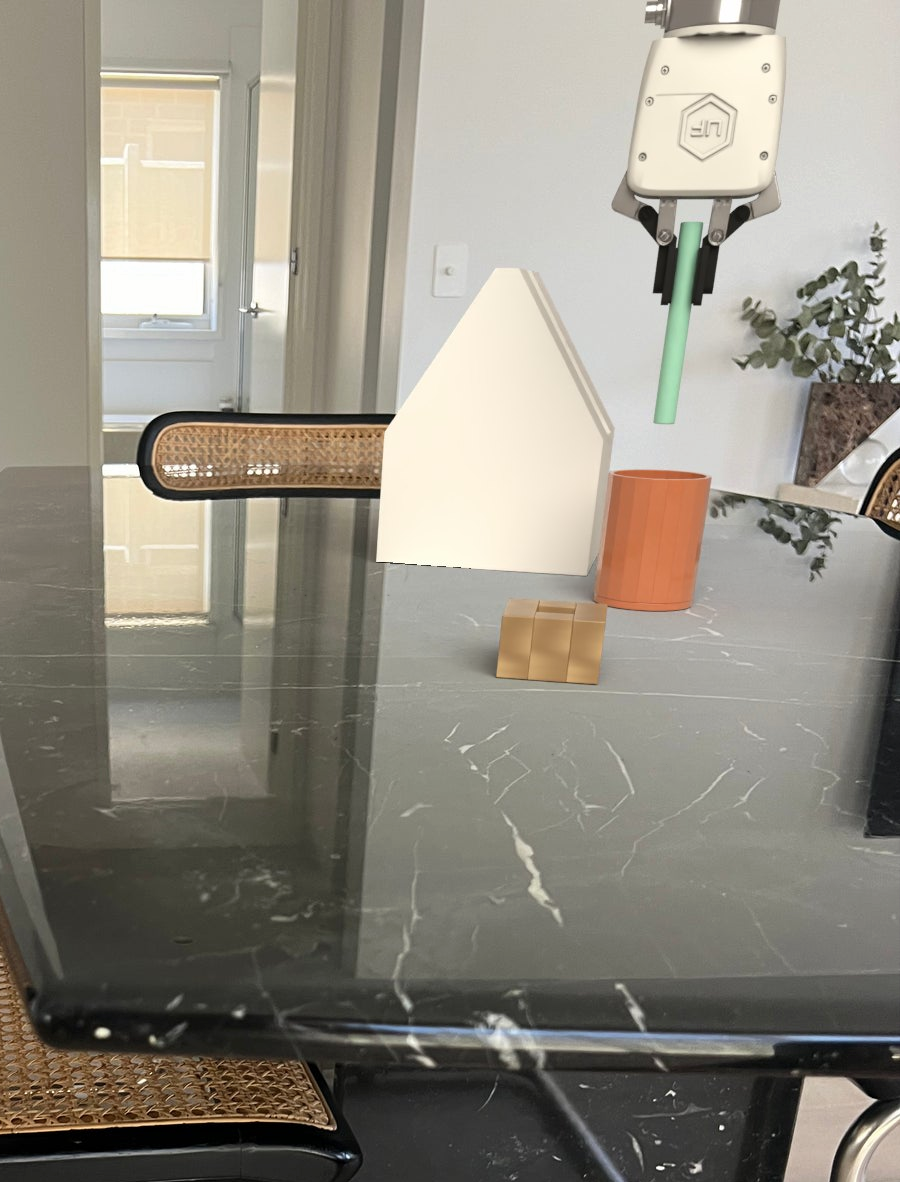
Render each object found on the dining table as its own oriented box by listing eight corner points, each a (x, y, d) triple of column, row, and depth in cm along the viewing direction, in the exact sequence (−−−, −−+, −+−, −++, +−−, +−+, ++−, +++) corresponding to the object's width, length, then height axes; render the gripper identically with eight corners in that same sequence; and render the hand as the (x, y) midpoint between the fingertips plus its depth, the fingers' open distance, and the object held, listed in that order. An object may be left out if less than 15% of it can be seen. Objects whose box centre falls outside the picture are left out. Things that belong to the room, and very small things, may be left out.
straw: (674, 423, 114) (703, 222, 108) (674, 424, 113) (704, 221, 107) (653, 422, 115) (680, 222, 109) (653, 423, 113) (681, 221, 107)
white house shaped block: (376, 562, 137) (395, 267, 127) (406, 540, 150) (426, 271, 140) (586, 575, 131) (624, 268, 121) (599, 551, 145) (634, 272, 135)
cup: (690, 596, 122) (709, 471, 118) (693, 613, 116) (713, 481, 111) (594, 591, 124) (609, 467, 120) (591, 607, 117) (608, 477, 113)
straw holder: (599, 663, 99) (607, 603, 97) (597, 684, 93) (605, 621, 92) (503, 657, 100) (509, 598, 99) (495, 677, 95) (502, 615, 93)
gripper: (604, 12, 101) (571, 303, 109) (847, 4, 97) (796, 306, 105) (606, 30, 108) (575, 304, 116) (834, 23, 104) (786, 307, 112)
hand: (680, 303), depth 110 cm, fingers closed on straw, 1 cm apart
